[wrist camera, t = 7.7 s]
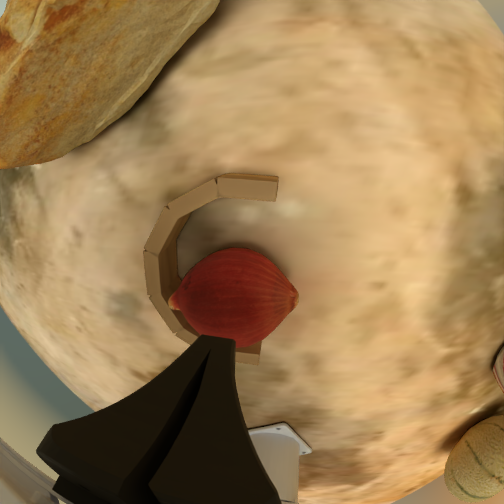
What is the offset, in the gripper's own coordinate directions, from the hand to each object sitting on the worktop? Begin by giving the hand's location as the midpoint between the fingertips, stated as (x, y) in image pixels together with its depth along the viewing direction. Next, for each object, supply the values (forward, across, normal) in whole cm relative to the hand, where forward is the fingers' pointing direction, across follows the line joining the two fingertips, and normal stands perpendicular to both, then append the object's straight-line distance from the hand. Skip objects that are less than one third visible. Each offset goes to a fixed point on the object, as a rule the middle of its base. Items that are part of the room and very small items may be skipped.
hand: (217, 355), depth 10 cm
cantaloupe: (+9, -38, +25) cm, 46 cm away
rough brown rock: (+9, +10, -20) cm, 24 cm away
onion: (+6, -4, 0) cm, 7 cm away
